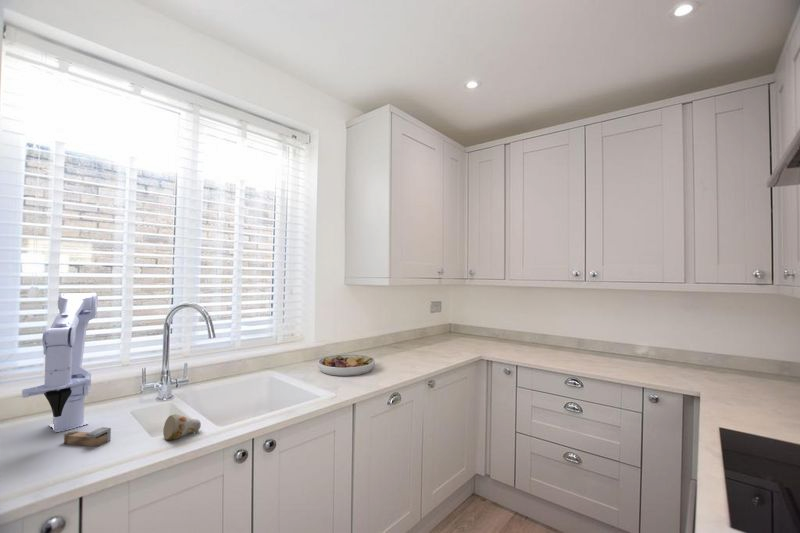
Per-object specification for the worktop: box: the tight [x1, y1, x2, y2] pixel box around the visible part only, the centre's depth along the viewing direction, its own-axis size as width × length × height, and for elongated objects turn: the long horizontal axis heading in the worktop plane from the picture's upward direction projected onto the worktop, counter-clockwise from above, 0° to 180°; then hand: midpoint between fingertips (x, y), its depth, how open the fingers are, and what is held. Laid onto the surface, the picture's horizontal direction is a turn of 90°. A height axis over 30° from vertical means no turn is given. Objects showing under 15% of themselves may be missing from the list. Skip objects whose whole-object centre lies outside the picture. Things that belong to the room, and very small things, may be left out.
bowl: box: [317, 354, 376, 377], centre depth 195 cm, size 30×30×8 cm
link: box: [63, 429, 108, 447], centre depth 108 cm, size 12×3×3 cm, turn 83°
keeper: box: [86, 426, 112, 443], centre depth 108 cm, size 3×5×4 cm, turn 169°
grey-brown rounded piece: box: [162, 414, 202, 441], centre depth 114 cm, size 8×10×10 cm
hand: (57, 416), depth 107 cm, fingers closed
